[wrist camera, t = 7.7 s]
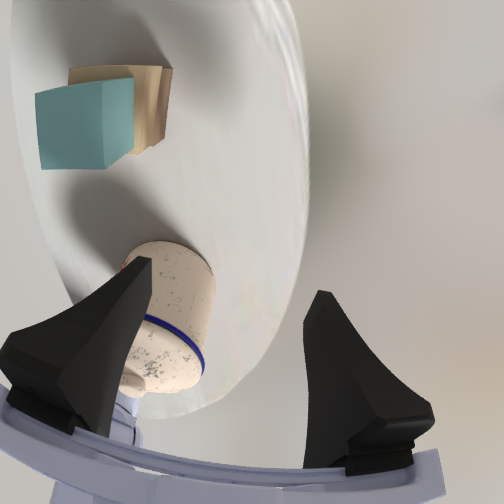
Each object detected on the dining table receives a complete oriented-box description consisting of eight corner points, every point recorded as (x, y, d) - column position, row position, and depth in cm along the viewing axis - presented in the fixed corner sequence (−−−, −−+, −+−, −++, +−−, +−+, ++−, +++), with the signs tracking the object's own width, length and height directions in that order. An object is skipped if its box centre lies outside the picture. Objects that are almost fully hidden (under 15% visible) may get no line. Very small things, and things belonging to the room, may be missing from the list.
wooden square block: (165, 137, 19) (153, 146, 17) (104, 132, 19) (87, 140, 17) (174, 68, 16) (162, 68, 14) (108, 67, 16) (90, 69, 14)
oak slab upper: (152, 143, 17) (138, 154, 15) (86, 137, 17) (66, 148, 15) (162, 66, 14) (147, 66, 12) (91, 65, 14) (69, 68, 12)
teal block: (133, 147, 15) (104, 169, 12) (75, 148, 15) (41, 169, 12) (134, 77, 12) (102, 82, 10) (73, 84, 12) (34, 93, 9)
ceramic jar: (115, 232, 24) (47, 335, 14) (219, 241, 24) (191, 366, 14) (137, 326, 30) (104, 419, 21) (218, 337, 30) (203, 440, 21)
